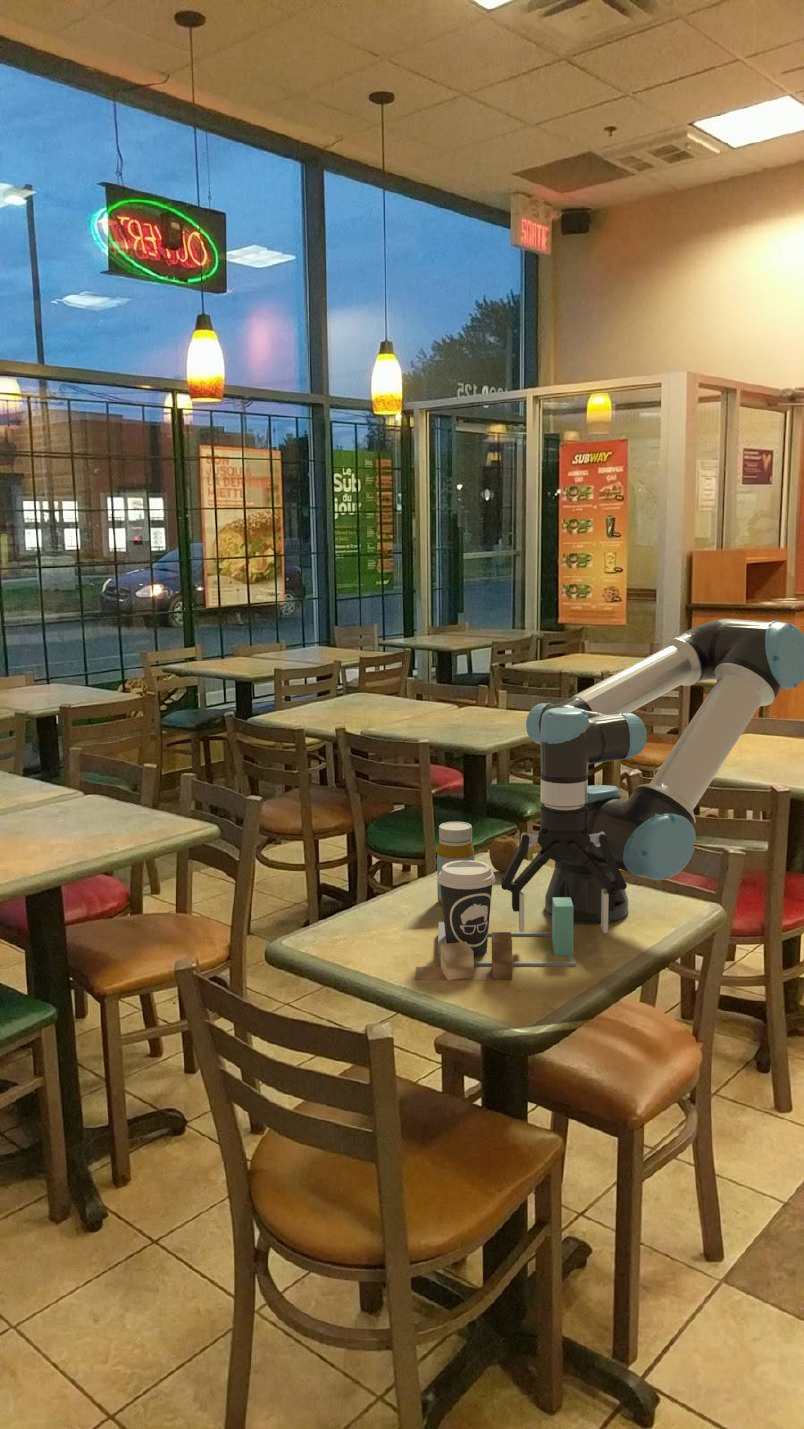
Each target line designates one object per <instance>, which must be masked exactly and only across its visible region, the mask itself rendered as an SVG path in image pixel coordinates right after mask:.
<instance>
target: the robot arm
mask: <svg viewBox="0 0 804 1429" xmlns="http://www.w3.org/2000/svg"><path fill="white" fill-rule="evenodd" d="M707 680H716V682H715V684H714V685H713V686H712V689H711V690H710V691H709V693H708V695H707V696H706V697H705V699H704V700H703V702H702V703H701V705H700V707H698V710H697V711H696V713H695V714H694V716H693V717H692V718H691V720H690V722H689V723H688V725H687V726H686V727H685V729H684V730H683V732H682V734H681V735H680V736H679V738H678V740H677V741H676V743H675V744H674V746H672V748H671V750H670V752H669V754H668V755H667V757H666V758H665V760H664V761H663V763H662V764H661V766H660V767H659V769H658V770H657V772H656V773H655V775H654V776H653V778H652V780H650V782H649V783H644V784H639V785H637V786H636V788H635V789H634V790H633V792H632V793H631V795H630V796H629V797H628V799H627V801H626V800H622V799H621V798H622V794H621V791H620V790H621V789H620V788H619V786H615V785H606V784H604V785H603V784H601V785H600V784H596V785H595V784H594V785H593V784H592V785H588V782H589V781H588V778H589V765H595V764H601V763H606V762H607V763H608V762H613V761H620V760H621V761H624V760H626V759H629V758H633V757H636V756H638V755H640V754H641V753H642V752H643V751H644V749H645V748H646V747H645V746H646V745H647V729H646V726H645V724H644V722H643V720H642V719H641V718H640V716H638V715H636V714H635V713H633V712H634V711H635V710H638V709H640V708H642V707H643V706H645V705H646V704H649V703H650V702H653V701H654V700H656V699H658V698H660V697H661V696H664V695H665V694H667V693H669V692H670V691H672V690H674V689H676V688H678V687H680V686H683V687H690V686H693V685H695V684H697V683H698V682H701V681H707ZM803 682H804V632H803V631H802V629H800V628H799V627H798V626H797V625H795V624H793V623H790V622H789V623H787V622H782V621H779V620H771V621H763V620H750V619H740V618H739V619H738V618H721V619H720V618H718V619H715V620H711V621H708V622H705V623H703V624H700V625H697V626H695V627H692V628H690V629H687V630H686V631H684V632H681V633H679V634H677V635H675V636H674V637H671V638H670V639H668V640H666V641H665V642H664V643H663V645H662V647H661V650H658V651H657V652H654V653H653V654H651V655H648V656H647V657H645V658H643V659H641V660H640V661H637V662H635V663H634V664H632V665H630V666H628V667H626V668H624V669H622V670H620V671H618V672H616V673H614V674H613V675H611V676H609V677H607V678H605V679H603V680H601V681H599V682H598V683H595V684H594V685H591V686H590V687H587V688H586V689H584V690H581V691H579V692H578V693H576V694H574V695H573V696H571V697H569V698H567V699H565V700H563V701H561V702H558V703H556V704H554V703H551V702H547V703H543V702H542V703H538V704H537V705H536V704H535V706H533V707H532V708H531V709H530V711H529V712H528V714H527V716H526V721H525V729H526V733H527V735H528V737H529V738H530V740H531V741H532V742H533V743H534V744H538V745H540V746H539V747H540V749H539V751H540V803H542V804H541V806H540V814H539V815H540V817H539V818H540V821H539V822H540V825H539V826H540V828H539V832H538V834H536V833H535V834H534V833H528V831H525V830H524V831H522V832H521V833H520V839H519V844H518V849H517V851H516V853H515V854H514V856H513V858H512V860H511V862H510V864H509V866H508V868H507V870H506V872H505V873H503V875H502V878H501V880H500V885H501V886H500V887H501V889H502V890H504V891H509V892H510V893H511V908H512V911H513V912H518V930H519V931H518V932H525V892H524V891H525V890H524V887H525V886H527V885H528V883H529V882H530V881H531V880H532V879H533V877H534V876H535V875H536V874H537V872H538V873H539V871H540V870H541V868H543V866H544V865H546V864H547V863H548V862H549V861H550V860H551V861H554V870H553V872H552V875H551V878H550V882H549V883H548V884H549V885H548V887H547V890H546V894H545V897H544V904H545V905H544V909H545V911H546V912H547V913H548V914H549V915H550V916H552V897H571V900H572V903H573V906H574V912H573V923H577V924H578V923H579V924H600V927H601V930H602V933H609V923H610V922H615V921H618V920H621V919H623V918H625V917H626V916H627V915H628V913H629V898H628V895H627V891H626V889H627V887H628V885H627V882H626V881H625V878H624V877H623V874H622V872H621V871H624V872H627V873H629V874H632V875H633V876H637V877H638V878H643V879H644V878H645V879H649V880H654V881H663V880H668V879H671V878H672V877H674V876H676V875H678V874H679V873H681V871H683V869H685V868H686V866H688V863H689V862H690V861H691V859H692V857H693V855H694V852H695V846H694V843H696V841H697V839H696V838H697V835H696V831H695V828H694V826H695V824H696V822H697V821H696V817H695V813H694V809H695V808H696V806H697V805H698V803H699V801H700V800H701V798H702V797H703V796H704V794H705V792H706V790H707V789H708V787H709V786H710V785H711V782H712V781H713V780H714V778H715V777H716V775H717V774H718V771H719V770H720V769H721V767H722V766H723V764H724V762H725V761H726V759H727V757H729V755H730V752H731V751H732V750H733V748H734V747H735V745H736V743H737V742H738V740H739V739H740V738H741V736H742V734H743V733H744V732H745V730H746V728H747V727H748V725H749V723H750V722H751V720H752V719H753V717H754V715H755V714H756V712H757V711H758V709H759V708H760V707H766V706H769V705H771V704H772V703H774V701H775V699H776V697H777V696H778V695H779V693H780V692H781V690H784V689H785V690H791V689H795V688H797V687H799V686H801V684H802V683H803ZM535 843H538V845H539V846H540V847H541V849H540V851H538V853H537V854H536V856H535V857H534V858H533V859H532V861H531V862H530V863H529V864H528V865H527V866H526V867H525V868H524V869H523V871H521V873H520V874H519V875H518V876H517V878H515V876H516V875H517V873H518V871H519V869H520V866H521V865H522V863H523V861H524V859H525V857H526V856H527V854H528V850H529V848H532V847H533V846H534V844H535ZM620 870H621V871H620ZM514 879H515V880H514ZM513 880H514V881H513Z"/></svg>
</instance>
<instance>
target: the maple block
mask: <svg viewBox="0 0 804 1429" xmlns="http://www.w3.org/2000/svg"><path fill="white" fill-rule="evenodd" d="M440 945H441V966H440V967H441V971H442V972H443V974H444V975H445V977H446V978H447V980H446V981H454V980H453V979H462V978H471V977H474V967H475V966H474V961H475V959H474V958H475V957H474V952H473V950H472V949H471V948H470V946H469V945H468V943H467V942H458V943H448V944H440Z"/></svg>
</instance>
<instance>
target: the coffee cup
mask: <svg viewBox="0 0 804 1429" xmlns="http://www.w3.org/2000/svg"><path fill="white" fill-rule="evenodd" d="M436 881H438V883H439V884H440V886H441V896H442V905H441V906H442V912H443V914H442V915H443V922H444V925H445V935H446V944H448V943H458V942H467V943H468V945H469V946H470V948H471V949H472V950H473V952H474V958H477V957H481V956H483V955H485V954H486V953H487V951H488V939H489V936H488V932H489V928H490V915H491V906H492V894H493V884H495V883H496V877H495V873H494V872H493V871H492V869H491V866H490V865H489V864H488V863H486V862H483V861H479V860H474V861H473V860H459V861H452V862H449V863H446V864H444V865H443V866H442V870H441V871H440V872H439V875H438V878H437V877H436Z"/></svg>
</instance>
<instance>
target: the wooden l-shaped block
mask: <svg viewBox="0 0 804 1429" xmlns="http://www.w3.org/2000/svg"><path fill="white" fill-rule="evenodd" d="M491 932H492V936H491V961H492V966H474V977H471V978H462V979H453V980H452V981H513V966H512V961H513V938H512V937H513V936H511V932H512V931H491ZM414 976H415V978H414V981H448V980H447V978H446V977H445V975H444V974H443V972H442V971H441V966H416V968H415V975H414Z"/></svg>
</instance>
